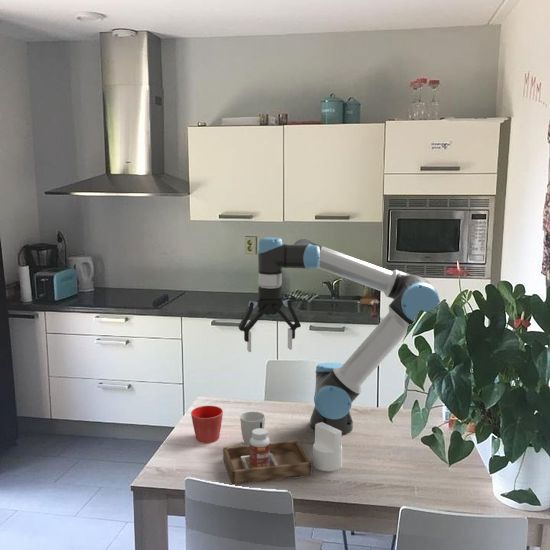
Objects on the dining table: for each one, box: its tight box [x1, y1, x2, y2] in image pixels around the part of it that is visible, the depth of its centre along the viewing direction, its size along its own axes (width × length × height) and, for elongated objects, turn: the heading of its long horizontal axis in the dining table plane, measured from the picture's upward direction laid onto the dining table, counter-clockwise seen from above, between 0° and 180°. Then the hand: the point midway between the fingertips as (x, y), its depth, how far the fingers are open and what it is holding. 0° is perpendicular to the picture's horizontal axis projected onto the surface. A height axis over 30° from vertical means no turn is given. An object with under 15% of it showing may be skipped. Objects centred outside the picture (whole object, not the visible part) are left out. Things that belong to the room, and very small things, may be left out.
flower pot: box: [190, 405, 224, 444], centre depth 207 cm, size 11×11×10 cm
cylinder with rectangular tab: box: [312, 422, 343, 472], centre depth 190 cm, size 9×9×12 cm
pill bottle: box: [250, 428, 271, 468], centre depth 187 cm, size 6×6×11 cm
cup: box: [239, 411, 266, 445], centre depth 203 cm, size 8×8×10 cm
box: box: [222, 440, 313, 485], centre depth 188 cm, size 24×16×4 cm, turn 103°
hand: (269, 349), depth 201 cm, fingers open, 13 cm apart
